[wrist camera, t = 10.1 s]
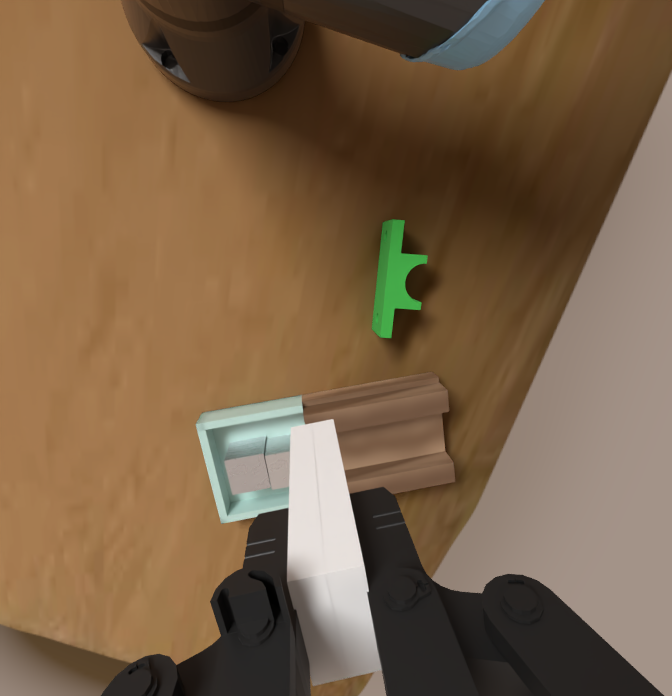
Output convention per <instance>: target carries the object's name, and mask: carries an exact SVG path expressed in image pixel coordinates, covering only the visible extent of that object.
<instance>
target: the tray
mask: <svg viewBox="0 0 672 696" xmlns="http://www.w3.org/2000/svg"><path fill="white" fill-rule="evenodd" d="M300 425H305V422H304V417H303V405H302V395H299V396H293V397H288V398H282V399H277V400H271V401H265V402H260V403H254V404H248V405H243V406H237V407H232V408H226V409H220V410H215V411H209V412H203V413H202V414H201V416H200V417H199V419H198V421H197V423H196V428H197V431H198V435H199V439H200V443H201V447H202V451H203V455H204V458H205V462H206V466H207V470H208V474H209V478H210V482H211V485H212V489H213V493H214V497H215V501H216V505H217V509H218V512H219V516H220V520H221V524H223V523H228V522H233V521H238V520H243V519H248V518H253V517H257V516H258V514H261V513H265V512H270V511H275V510H280V509H285V508H289V487H285V488H280V489H275V490H272V488H267V489H262V490H256V491H251V492H246V493H241V494H235V495H232V491H231V487H230V483H229V479H228V475H227V471H226V467H225V463H224V459H225V456H226V453H227V450H228V447H229V444H230V442H235V441H241V440H246V439H252V438H257V437H263V436H266V438H270V437H276V436H281V435H287V434H291V427H295V426H300Z"/></svg>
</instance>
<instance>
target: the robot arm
mask: <svg viewBox="0 0 672 696" xmlns="http://www.w3.org/2000/svg"><path fill="white" fill-rule="evenodd" d="M544 1H545V0H121V2H122V6H123V9H124V12H125V15H126V18H127V20H128V23H129V25H130V27H131V29H132V31H133V33H134V35H135V37H136V39H137V41H138V42H139V44H140V45H141V47H142V48H143V50H144V51H145V52H146V54H147V55H148V56H149V58H150V59H151V60H152V62H153V63H154V64H155V65H156V67H157V68H158V69H159V70H160V71H161V72H162V73H163V74H164V75H165V76H166V77H167V78H168V79H169V80H171V81H172V82H173V83H174V84H176V85H177V86H179V87H180V88H182V89H184V90H185V91H187V92H189V93H191V94H193V95H196V96H198V97H201V98H204V99H208V100H213V101H221V102H232V101H240V100H245V99H249V98H251V97H254V96H256V95H259V94H261V93H262V92H264V91H266V90H267V89H269V88H270V87H272V86H273V85H274V84H275V83H276V82H277V81H278V80H279V79H280V78H281V77H282V76H283V75H284V74H285V73H286V71H287V70H288V68H289V67H290V65H291V64H292V62H293V60H294V58H295V56H296V54H297V52H298V49H299V46H300V43H301V40H302V35H303V30H304V22H305V21H308V22H311V23H314V24H316V25H319V26H322V27H325V28H328V29H331V30H334V31H337V32H340V33H343V34H346V35H348V36H351V37H354V38H357V39H360V40H363V41H366V42H369V43H372V44H375V45H377V46H380V47H383V48H386V49H389V50H392V51H395V52H398V53H400V56H401V57H402V58H403V59H405V60H407V61H410V62H423V61H424V62H428V63H431V64H435V65H438V66H442V67H445V68H449V69H453V70H464V69H467V68H472V67H474V66H479V65H481V64H483V63H485V62H486V61H488V60H489V59H491V58H492V57H493V56H495V55H496V54H497V53H499V52H500V51H501V50H502V49H503V48H504V47H505V46H506V45H508V44H509V43H510V42H511V41H512V40H513V39H514V38H515V36H516V35H517V34H518V33H519V32H520V31H521V30H522V29H523V27H524V26H525V25H526V24H527V23H528V22H529V20H530V19H531V18H532V16H533V15H534V14H535V13H536V11H537V10H538V9H539V8H540V6H541V5H542V3H543V2H544ZM210 602H211V606H212V609H213V612H214V615H215V618H216V621H217V624H218V627H219V630H220V634H221V637H220V638H219V639H218V640H217V641H216V642H215V643H213V644H212V645H211V646H209V647H208V648H206V649H205V650H203V651H202V652H200V653H198V654H196V655H194V656H193V657H191V658H189V659H187V660H185V661H183V662H181V663H180V664H178V665H176V664H175V663H174V662H173V660H172V659H171V658H170V657H168V656H165V655H161V654H155V655H150V656H145V657H143V658H141V659H139V660H137V661H135V662H133V663H131V664H130V665H128V666H127V667H126V668H125V669H124V670H123V671H121V672H120V673H119V674H118V675H117V676H115V678H114V679H113V680H112V682H111V683H110V684H109V685H108V687H107V688H106V689H105V690H104V692H103V693H102V695H101V696H311V694H310V676H311V680H312V684H313V686H315V685H319V684H324V683H328V682H332V681H337V680H341V679H345V678H350V677H354V676H358V675H363V674H367V673H372V672H376V671H380V670H382V674H383V679H384V684H385V690H386V695H387V696H664V695H663V694H662V693H661V692H660V691H658V690H657V689H656V688H655V687H654V686H653V685H652V684H651V683H650V682H649V681H648V680H647V679H646V678H644V677H643V676H642V675H641V674H640V673H639V672H638V671H637V670H636V669H635V668H634V667H633V666H631V664H629V663H628V662H627V661H626V660H625V659H624V658H623V657H622V656H621V655H620V654H619V653H618V652H617V651H615V650H614V649H613V648H612V647H611V646H610V645H609V644H608V643H607V642H606V641H605V640H604V639H602V637H600V636H599V635H598V634H597V633H596V632H595V631H594V630H593V629H592V628H591V627H590V626H589V625H588V624H587V623H585V621H583V620H582V619H581V618H580V617H579V616H578V615H577V614H576V613H575V612H574V611H572V609H571V608H569V607H568V606H567V605H566V604H565V603H564V602H563V601H562V600H561V599H560V598H559V597H557V595H555V594H554V593H553V592H552V591H551V590H550V589H549V588H547V587H546V586H544V585H543V584H542V583H540V582H539V581H537V580H535V579H532V578H529V577H526V576H524V575H515V574H506V575H503V576H499V577H495V578H494V579H493V580H491V581H490V582H489V583H488V584H486V586H485V589H484V591H483V593H482V594H481V593H469V592H459V591H454V590H450V589H448V588H445V587H442V586H440V585H439V584H437V583H436V582H434V581H433V580H432V579H431V578H430V577H429V576H428V575H427V574H426V572H425V570H424V569H423V567H422V564H421V562H420V559H419V557H418V554H417V552H416V549H415V546H414V544H413V541H412V539H411V536H410V534H409V531H408V528H407V526H406V524H405V521H404V518H403V516H402V513H401V511H400V508H399V505H398V503H397V500H396V497H395V496H394V495H393V494H392V493H390V492H389V491H388V490H387V489H386V488H384V487H379V488H374V489H370V490H365V491H360V492H355V493H350V494H349V491H348V486H347V482H346V477H345V472H344V467H343V463H342V458H341V453H340V448H339V444H338V439H337V434H336V429H335V425H334V420H333V419H331V420H326V421H321V422H316V423H310V424H305V425H300V426H295V427H291V436H290V476H289V508H285V509H280V510H275V511H270V512H265V513H261V514H258V516H257V517H256V519H255V520H254V522H253V523H252V525H251V526H250V528H249V532H248V538H247V547H246V551H245V560H244V563H243V569H240V570H237V571H236V572H234V573H233V574H231V575H230V576H228V577H227V578H225V579H224V580H223V582H222V583H221V584H220V585H219V586H218V587H217V589H216V590H215V592H214V594H213V597H212V599H211V601H210Z"/></svg>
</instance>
